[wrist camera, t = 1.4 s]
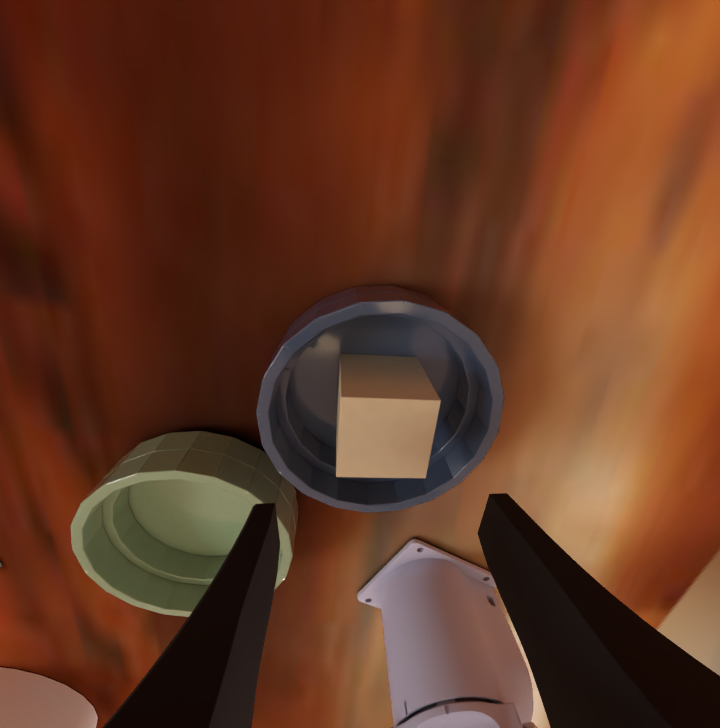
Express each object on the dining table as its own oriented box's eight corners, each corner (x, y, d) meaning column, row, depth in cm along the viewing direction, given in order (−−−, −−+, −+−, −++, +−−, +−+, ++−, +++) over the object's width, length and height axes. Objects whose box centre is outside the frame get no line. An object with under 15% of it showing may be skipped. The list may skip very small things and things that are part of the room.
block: (416, 356, 19) (441, 400, 14) (406, 421, 21) (426, 478, 16) (340, 353, 19) (340, 396, 14) (336, 419, 20) (335, 477, 16)
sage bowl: (331, 476, 23) (330, 526, 19) (249, 578, 27) (235, 636, 23) (155, 393, 20) (113, 434, 16) (90, 523, 23) (44, 580, 20)
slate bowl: (514, 357, 20) (554, 388, 16) (394, 490, 24) (405, 539, 20) (345, 236, 17) (347, 241, 13) (236, 412, 20) (214, 454, 17)
